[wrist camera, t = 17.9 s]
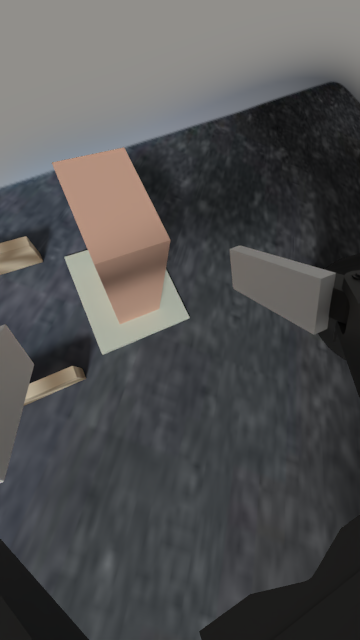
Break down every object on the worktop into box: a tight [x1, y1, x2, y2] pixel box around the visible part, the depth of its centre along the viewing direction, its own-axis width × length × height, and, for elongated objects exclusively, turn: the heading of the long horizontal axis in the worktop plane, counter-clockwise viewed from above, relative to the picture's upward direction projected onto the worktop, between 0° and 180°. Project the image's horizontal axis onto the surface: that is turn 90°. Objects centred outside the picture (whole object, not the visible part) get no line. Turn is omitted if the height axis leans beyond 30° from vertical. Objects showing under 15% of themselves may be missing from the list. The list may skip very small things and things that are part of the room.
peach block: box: [52, 148, 170, 324], centre depth 22 cm, size 5×8×14 cm, turn 25°
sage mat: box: [64, 250, 190, 355], centre depth 29 cm, size 11×13×1 cm
